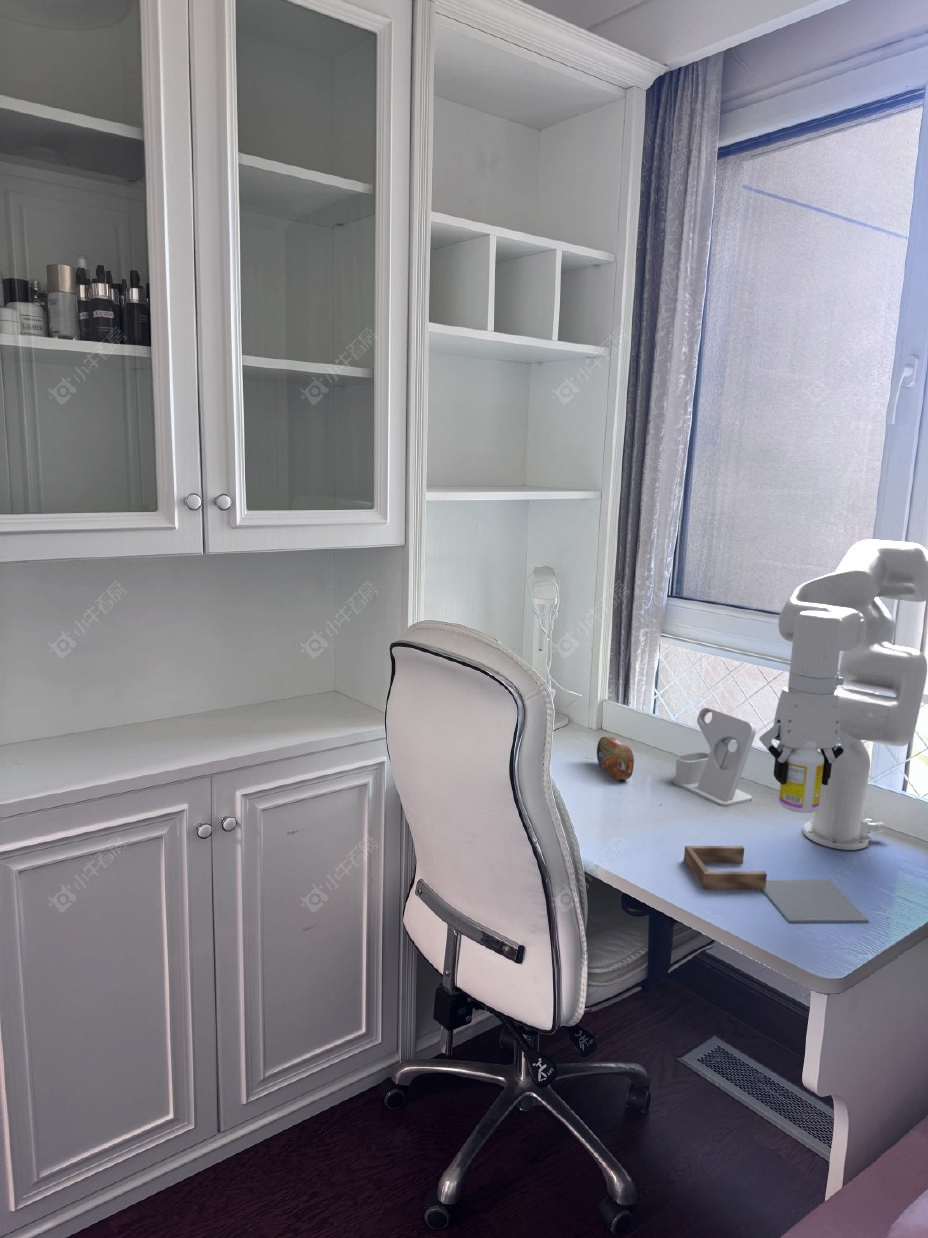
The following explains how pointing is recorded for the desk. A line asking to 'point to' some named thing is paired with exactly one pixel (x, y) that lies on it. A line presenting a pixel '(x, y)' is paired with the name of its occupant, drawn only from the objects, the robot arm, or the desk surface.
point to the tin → (615, 758)
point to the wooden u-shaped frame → (721, 879)
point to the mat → (812, 901)
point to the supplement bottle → (803, 779)
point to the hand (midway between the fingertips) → (801, 781)
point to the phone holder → (717, 760)
